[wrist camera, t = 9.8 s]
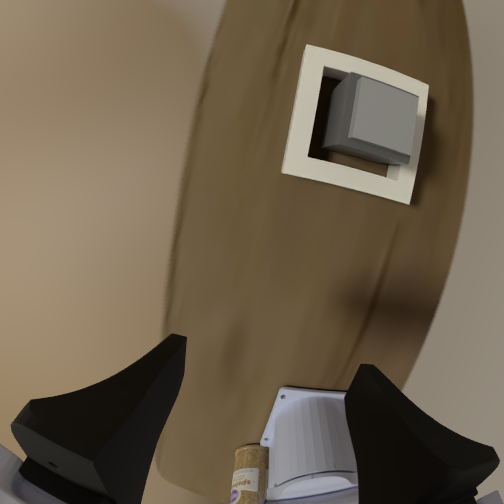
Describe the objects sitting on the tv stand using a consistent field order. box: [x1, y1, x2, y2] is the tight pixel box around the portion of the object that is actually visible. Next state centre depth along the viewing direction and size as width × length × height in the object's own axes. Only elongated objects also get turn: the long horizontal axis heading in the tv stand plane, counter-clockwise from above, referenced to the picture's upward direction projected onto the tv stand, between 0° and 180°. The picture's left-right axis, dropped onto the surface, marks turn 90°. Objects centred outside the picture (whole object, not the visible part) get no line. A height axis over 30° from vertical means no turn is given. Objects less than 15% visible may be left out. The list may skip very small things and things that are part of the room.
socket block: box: [281, 45, 429, 205], centre depth 17 cm, size 8×8×2 cm
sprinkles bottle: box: [230, 444, 269, 504], centre depth 21 cm, size 5×5×13 cm
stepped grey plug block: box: [321, 72, 419, 165], centre depth 15 cm, size 4×4×6 cm
